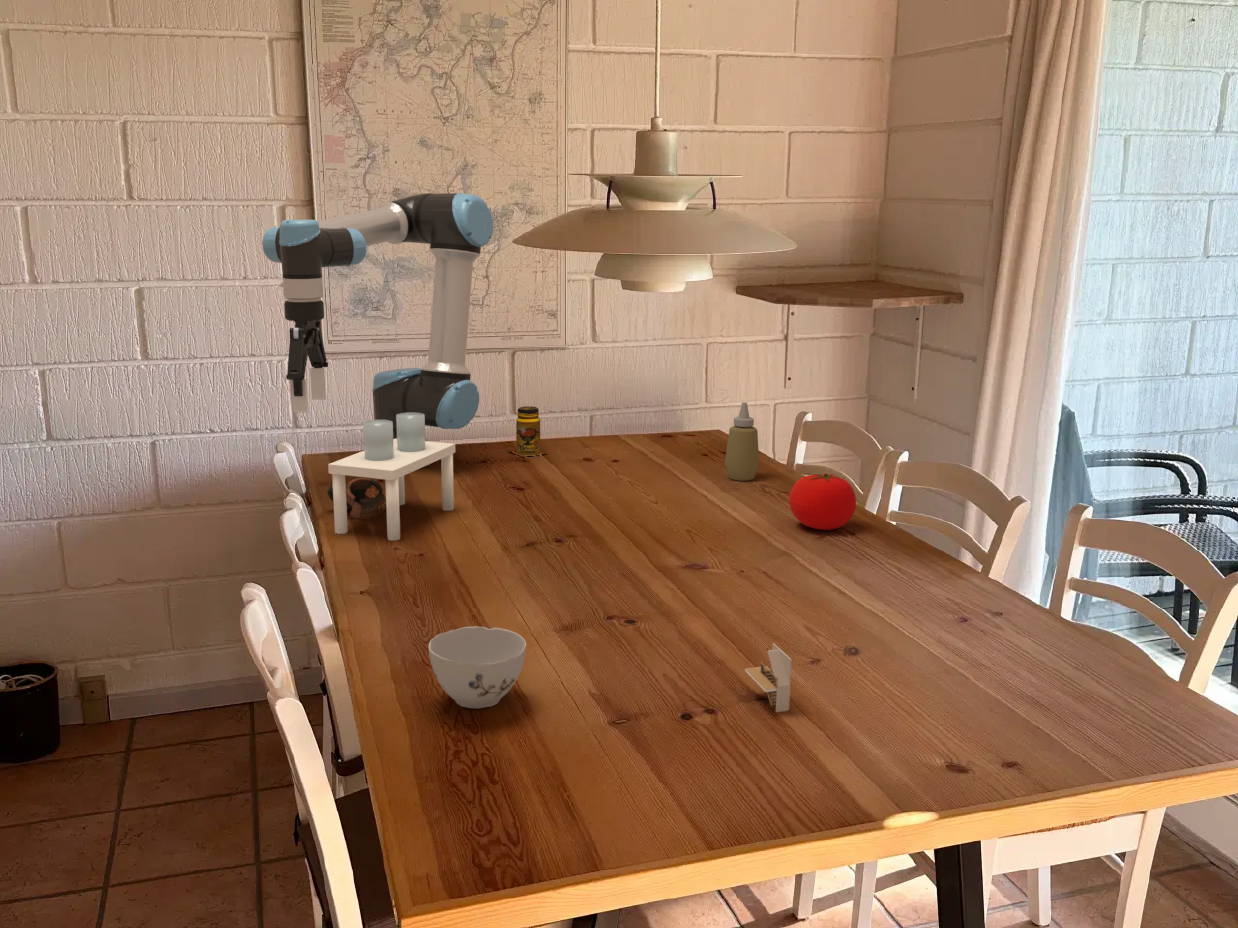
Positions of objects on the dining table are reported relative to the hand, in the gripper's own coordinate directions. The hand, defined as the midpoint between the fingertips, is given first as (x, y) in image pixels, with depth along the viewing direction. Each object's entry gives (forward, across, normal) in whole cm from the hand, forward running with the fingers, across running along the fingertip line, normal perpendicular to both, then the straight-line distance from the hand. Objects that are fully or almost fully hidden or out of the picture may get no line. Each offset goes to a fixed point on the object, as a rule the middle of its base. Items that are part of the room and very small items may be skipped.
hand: (310, 405), depth 224 cm
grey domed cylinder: (+8, +1, +20) cm, 22 cm away
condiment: (+23, -55, +39) cm, 72 cm away
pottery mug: (+23, 0, +8) cm, 24 cm away
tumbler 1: (+8, +9, +16) cm, 20 cm away
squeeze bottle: (+23, -32, +91) cm, 99 cm away
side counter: (+22, +6, +18) cm, 29 cm away
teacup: (+22, +86, +44) cm, 99 cm away
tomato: (+23, +7, +103) cm, 106 cm away
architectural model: (+23, +87, +82) cm, 122 cm away
